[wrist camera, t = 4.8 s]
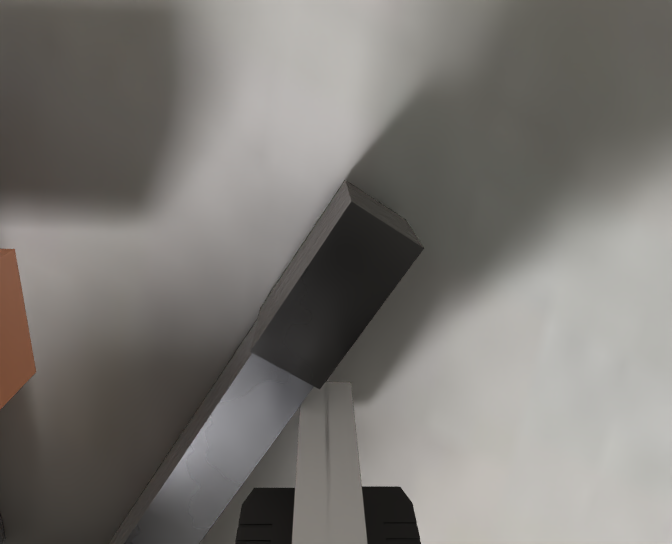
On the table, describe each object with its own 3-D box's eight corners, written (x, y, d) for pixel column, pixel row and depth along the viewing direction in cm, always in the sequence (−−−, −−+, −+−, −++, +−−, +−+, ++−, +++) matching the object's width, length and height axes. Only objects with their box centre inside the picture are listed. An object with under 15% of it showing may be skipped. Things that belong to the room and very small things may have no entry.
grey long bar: (253, 120, 14) (236, 132, 11) (405, 219, 15) (429, 256, 12) (-36, 613, 19) (-101, 714, 16) (91, 660, 20) (51, 763, 17)
